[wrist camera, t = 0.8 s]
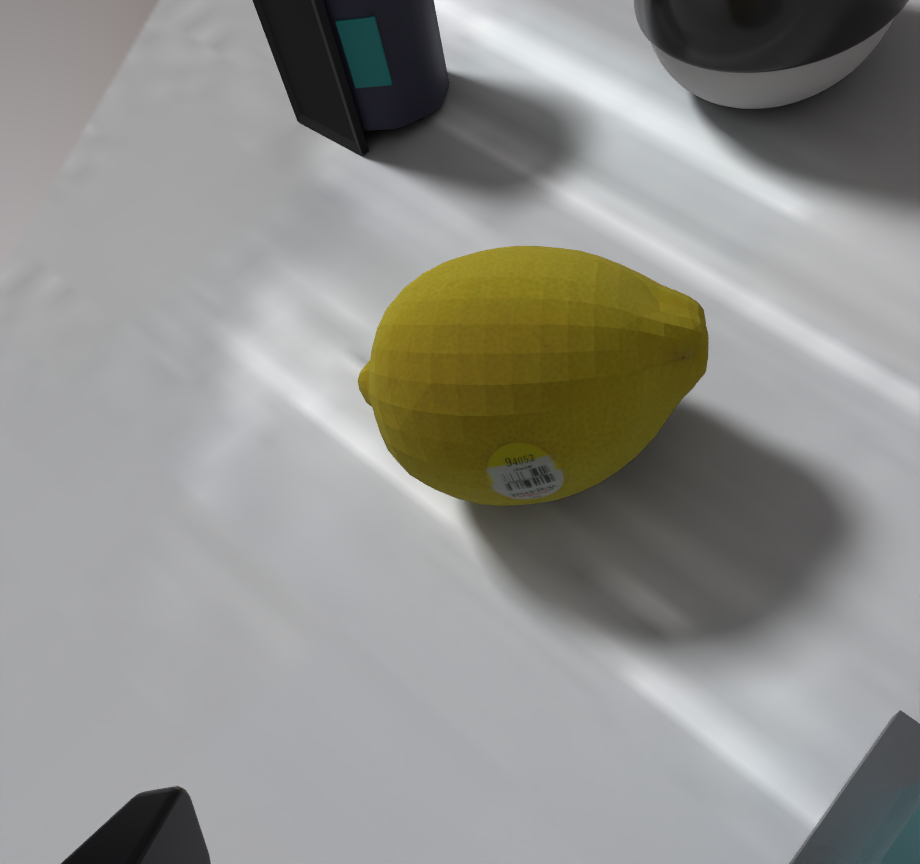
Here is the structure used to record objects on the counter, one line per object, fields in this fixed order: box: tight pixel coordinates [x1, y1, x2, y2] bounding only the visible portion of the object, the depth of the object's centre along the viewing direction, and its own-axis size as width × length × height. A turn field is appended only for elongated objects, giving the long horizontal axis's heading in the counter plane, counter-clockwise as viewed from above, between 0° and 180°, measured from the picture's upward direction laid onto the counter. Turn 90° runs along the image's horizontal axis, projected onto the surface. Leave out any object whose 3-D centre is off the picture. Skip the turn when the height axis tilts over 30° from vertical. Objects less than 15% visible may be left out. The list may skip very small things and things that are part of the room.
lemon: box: [358, 246, 708, 506], centre depth 24 cm, size 11×8×8 cm
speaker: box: [253, 0, 449, 156], centre depth 35 cm, size 8×6×10 cm
